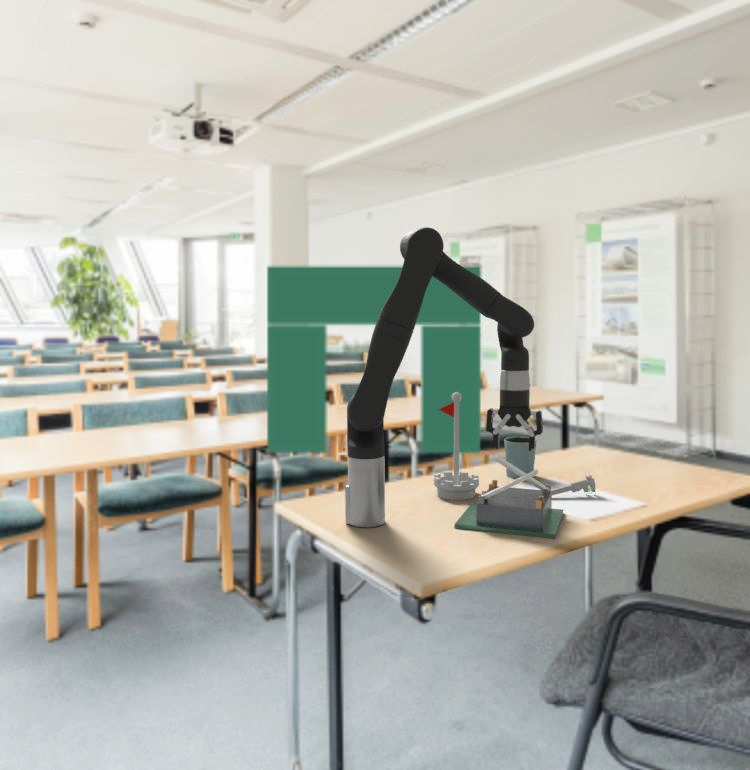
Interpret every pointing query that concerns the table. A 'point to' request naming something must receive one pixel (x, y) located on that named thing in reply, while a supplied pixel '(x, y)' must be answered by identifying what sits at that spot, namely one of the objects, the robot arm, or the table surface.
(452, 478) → the flag stand
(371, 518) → the robot arm
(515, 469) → the far strap
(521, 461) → the blue-grey cup
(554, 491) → the caliper
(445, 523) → the table surface
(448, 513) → the table surface
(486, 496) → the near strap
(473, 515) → the base
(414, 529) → the table surface
